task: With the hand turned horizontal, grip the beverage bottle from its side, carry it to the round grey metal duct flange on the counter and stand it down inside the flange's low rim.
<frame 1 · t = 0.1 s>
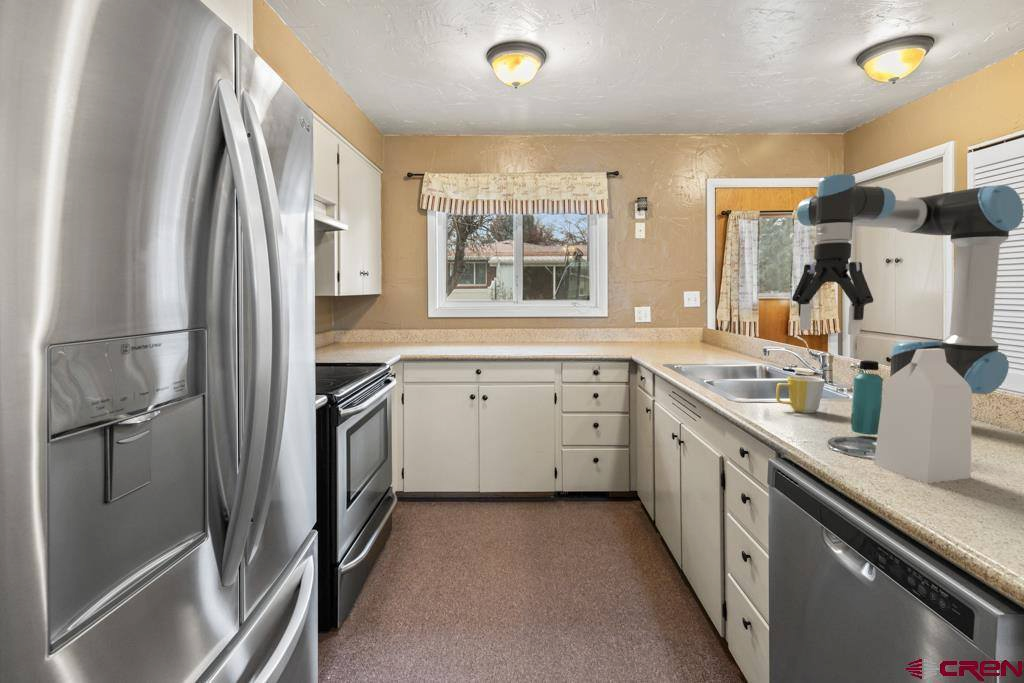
hand: (828, 332, 130), 28 cm above the counter, tool pointing down, fingers open, 13 cm apart
flange: (860, 449, 129), on the counter
beverage bottle: (864, 437, 140), on the counter
milk: (920, 472, 114), on the counter
mug: (798, 411, 170), on the counter
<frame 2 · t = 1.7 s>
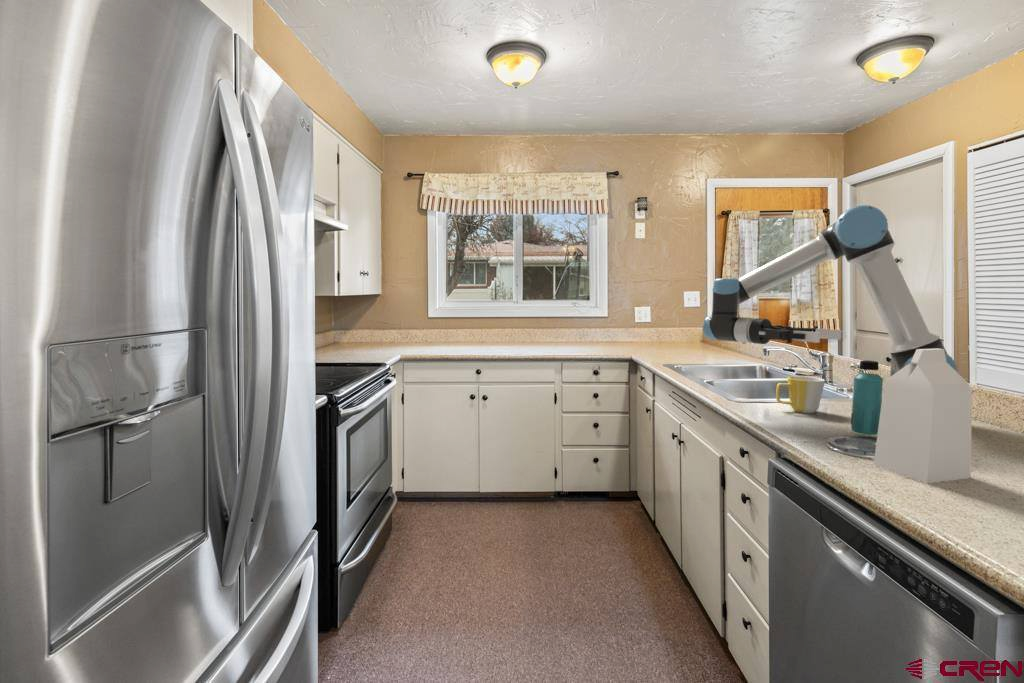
hand: (830, 336, 145), 26 cm above the counter, tool horizontal, fingers open, 13 cm apart
nothing on the counter moved.
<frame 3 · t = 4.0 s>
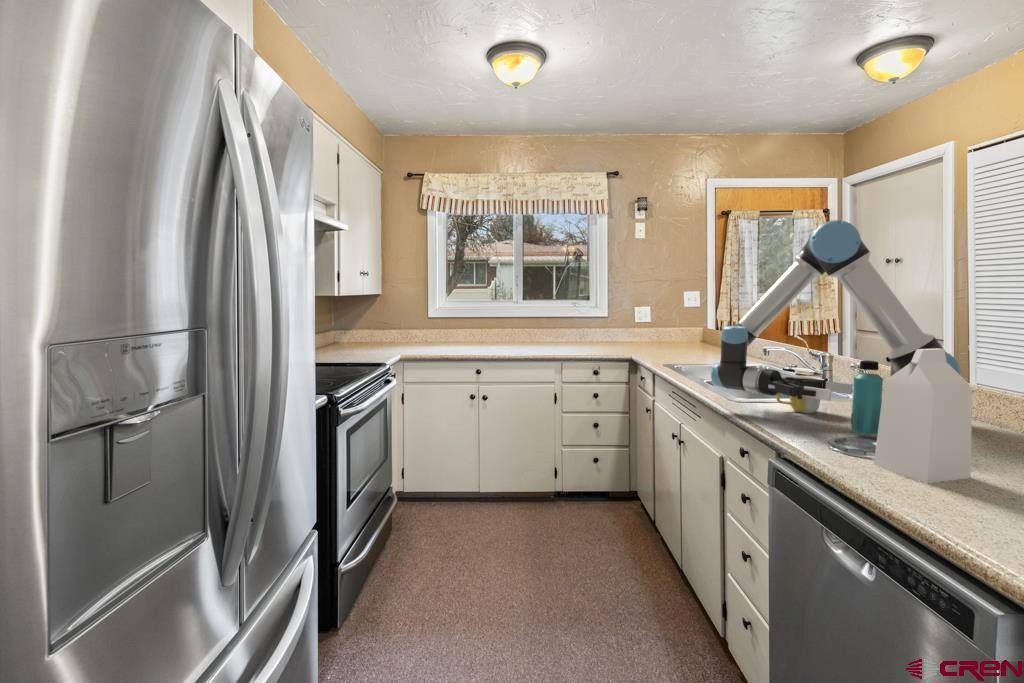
hand: (841, 392, 143), 11 cm above the counter, tool horizontal, fingers open, 13 cm apart
nothing on the counter moved.
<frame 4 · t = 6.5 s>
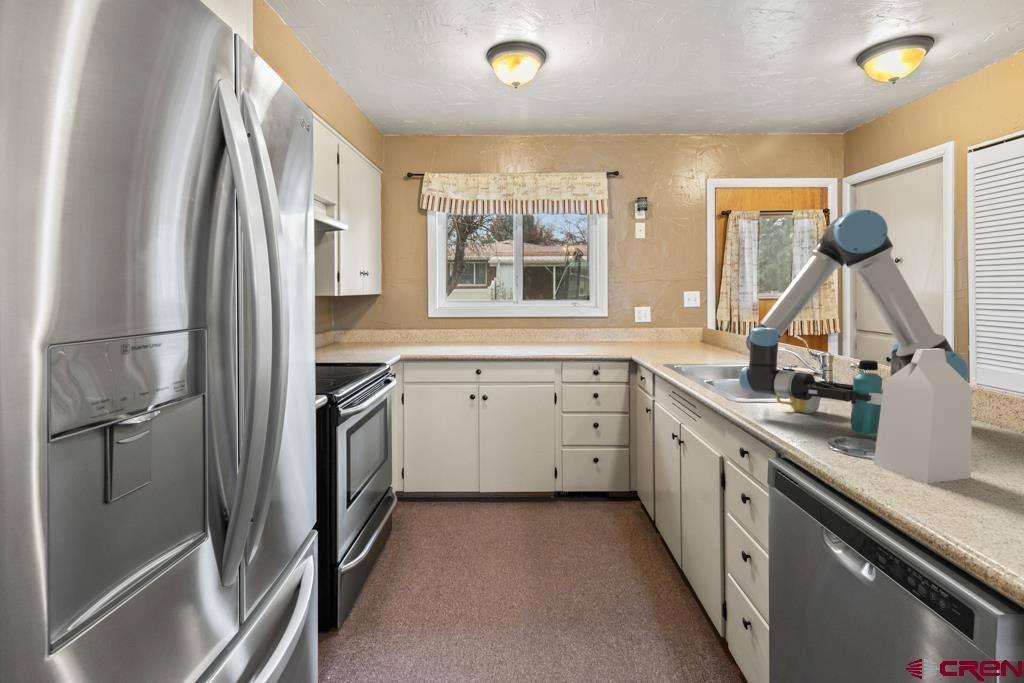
hand: (891, 398, 135), 11 cm above the counter, tool horizontal, fingers closed on beverage bottle, 5 cm apart
beverage bottle: (864, 437, 140), on the counter, touching gripper
everything else where it was.
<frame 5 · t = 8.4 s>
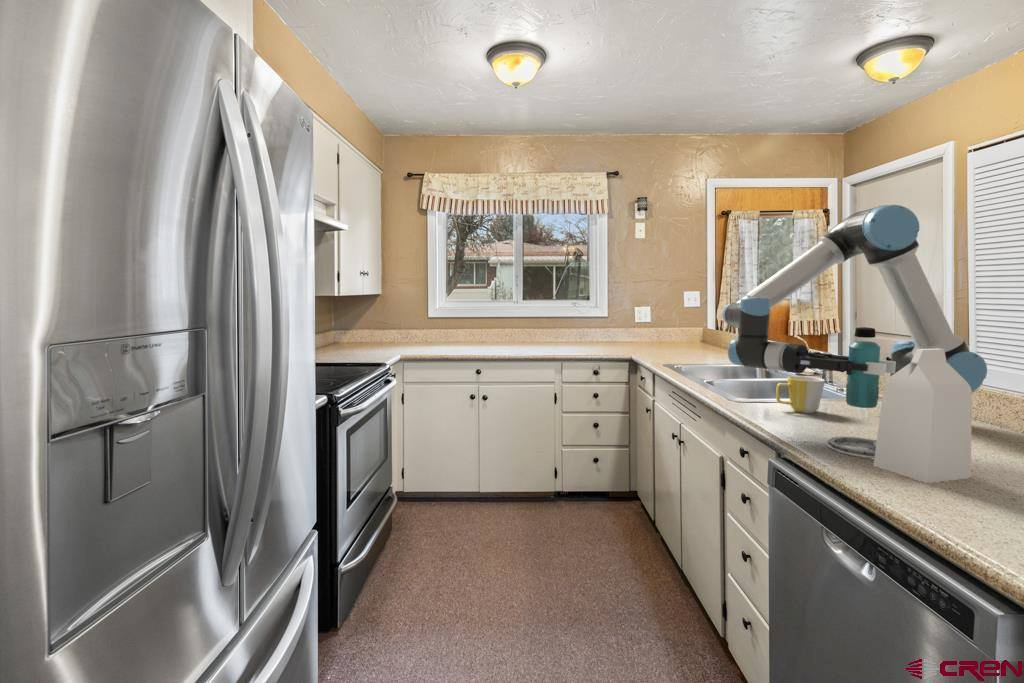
hand: (889, 368, 124), 20 cm above the counter, tool horizontal, fingers closed on beverage bottle, 5 cm apart
beverage bottle: (860, 411, 129), point 9 cm above the counter, touching gripper
everything else where it was.
when the fingers open (12 cm above the counter, at t = 10.6 s): beverage bottle stays where it is, resting on flange.
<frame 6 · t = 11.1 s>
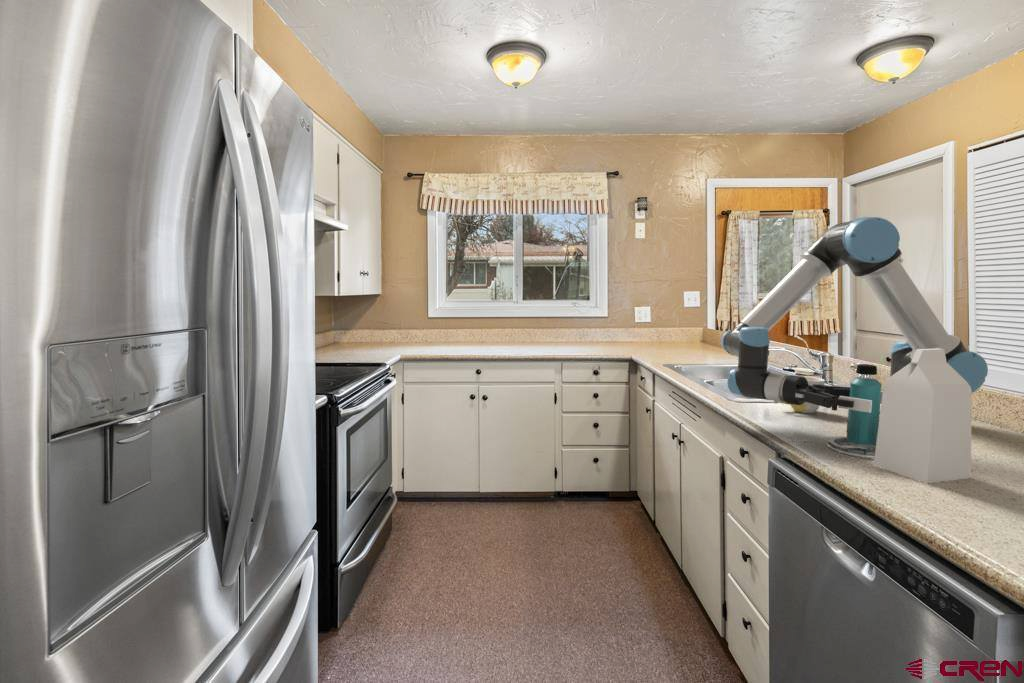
hand: (881, 402, 125), 12 cm above the counter, tool horizontal, fingers open, 12 cm apart
beverage bottle: (860, 447, 130), resting on flange
everything else where it was.
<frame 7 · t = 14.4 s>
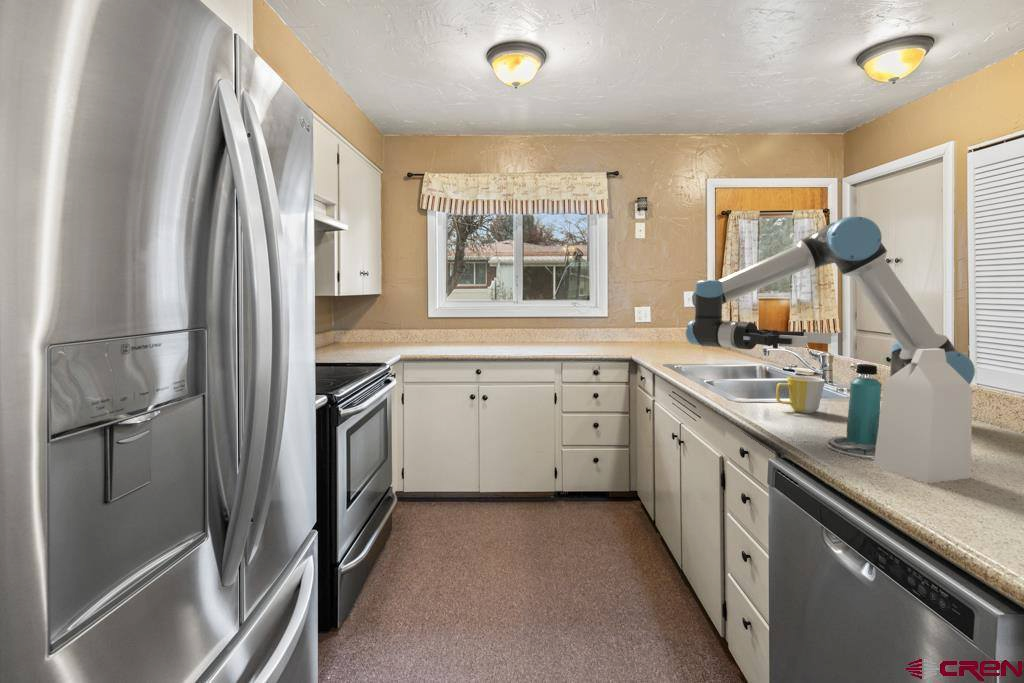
hand: (819, 340, 136), 25 cm above the counter, tool horizontal, fingers open, 13 cm apart
nothing on the counter moved.
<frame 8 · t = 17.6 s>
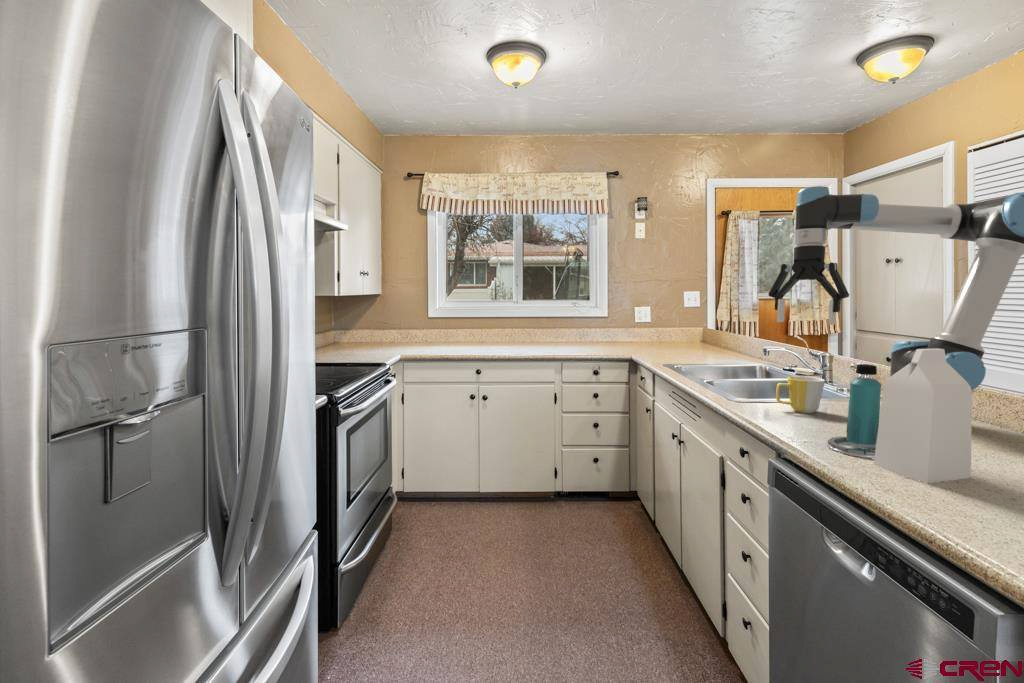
hand: (805, 323, 150), 29 cm above the counter, tool pointing down, fingers open, 13 cm apart
nothing on the counter moved.
at the end: beverage bottle 0.4 cm from the flange (horizontally); beverage bottle tilted 0°; the gripper is holding nothing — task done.
